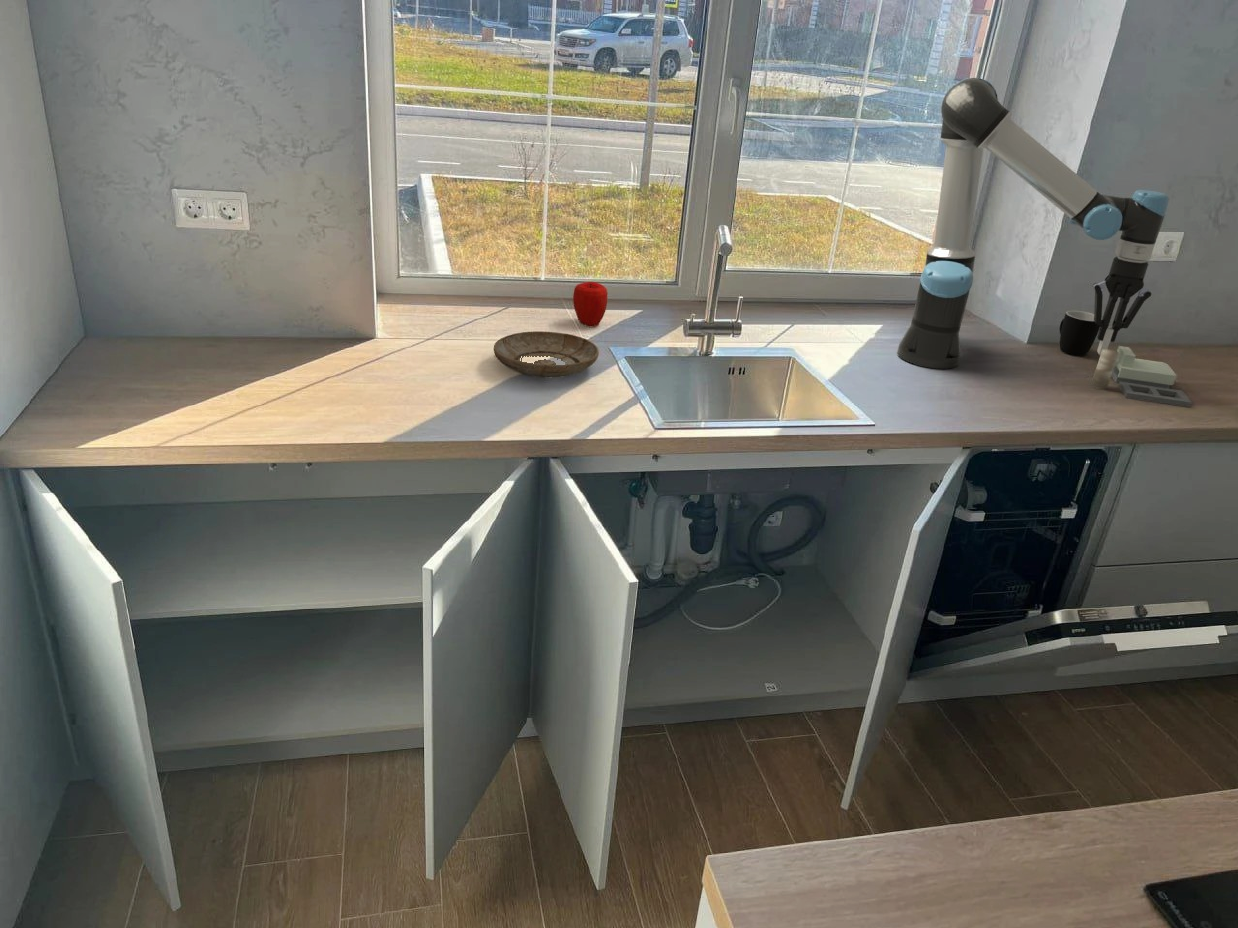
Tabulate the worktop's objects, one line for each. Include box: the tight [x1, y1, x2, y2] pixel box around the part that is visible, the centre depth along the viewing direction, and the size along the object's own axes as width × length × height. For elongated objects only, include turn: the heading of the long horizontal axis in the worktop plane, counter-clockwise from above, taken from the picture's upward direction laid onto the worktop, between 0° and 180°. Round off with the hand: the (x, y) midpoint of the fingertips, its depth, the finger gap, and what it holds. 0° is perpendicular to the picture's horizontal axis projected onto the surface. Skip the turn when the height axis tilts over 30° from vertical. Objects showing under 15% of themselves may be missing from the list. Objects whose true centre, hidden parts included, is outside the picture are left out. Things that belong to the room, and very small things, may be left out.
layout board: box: [1111, 366, 1171, 389], centre depth 227 cm, size 12×9×3 cm
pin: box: [1090, 348, 1119, 391], centre depth 219 cm, size 4×4×9 cm
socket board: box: [1117, 382, 1193, 408], centre depth 218 cm, size 14×8×1 cm, turn 75°
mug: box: [1059, 310, 1100, 357], centre depth 244 cm, size 12×9×10 cm
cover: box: [1115, 345, 1178, 386], centre depth 226 cm, size 13×10×5 cm
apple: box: [572, 281, 608, 327], centre depth 233 cm, size 9×9×11 cm
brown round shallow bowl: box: [493, 330, 600, 379], centre depth 204 cm, size 23×24×5 cm
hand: (1101, 353), depth 227 cm, fingers closed
